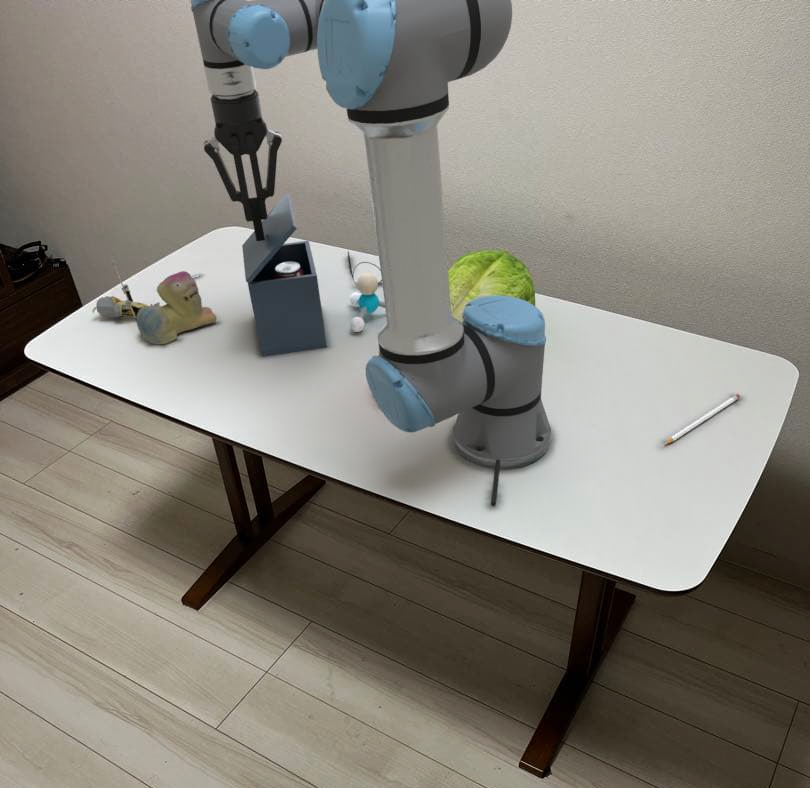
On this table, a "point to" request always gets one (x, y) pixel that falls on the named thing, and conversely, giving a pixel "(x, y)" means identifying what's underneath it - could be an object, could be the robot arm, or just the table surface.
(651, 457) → the table surface
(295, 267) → the soda can
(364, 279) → the molecule model
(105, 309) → the toy
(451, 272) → the lettuce
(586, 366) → the table surface
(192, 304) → the sculpture
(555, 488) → the table surface
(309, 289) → the storage box
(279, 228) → the lid
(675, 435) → the pencil
